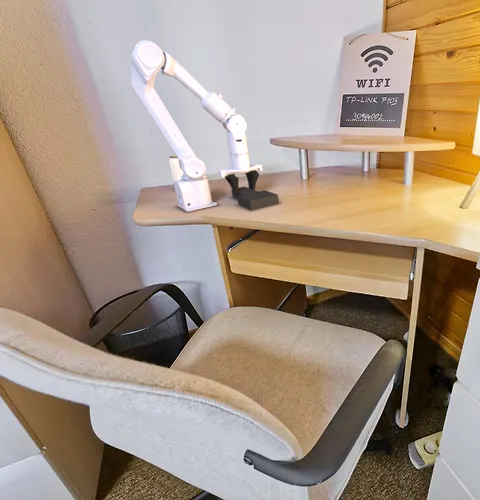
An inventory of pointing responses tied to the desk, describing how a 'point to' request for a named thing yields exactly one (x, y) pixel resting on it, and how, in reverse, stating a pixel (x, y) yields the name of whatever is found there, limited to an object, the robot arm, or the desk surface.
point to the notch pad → (258, 200)
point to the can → (175, 168)
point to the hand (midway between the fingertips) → (245, 194)
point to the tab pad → (244, 192)
